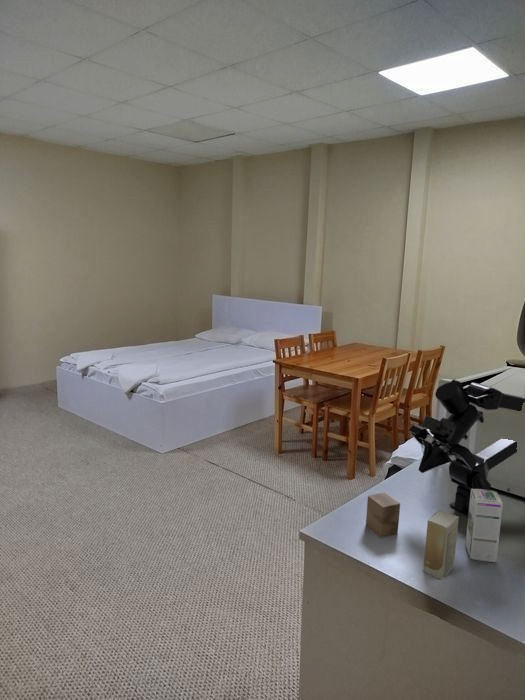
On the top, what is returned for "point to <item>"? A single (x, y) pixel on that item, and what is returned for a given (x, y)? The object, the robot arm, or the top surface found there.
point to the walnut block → (382, 514)
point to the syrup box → (483, 525)
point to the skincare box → (440, 544)
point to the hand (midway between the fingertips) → (420, 471)
